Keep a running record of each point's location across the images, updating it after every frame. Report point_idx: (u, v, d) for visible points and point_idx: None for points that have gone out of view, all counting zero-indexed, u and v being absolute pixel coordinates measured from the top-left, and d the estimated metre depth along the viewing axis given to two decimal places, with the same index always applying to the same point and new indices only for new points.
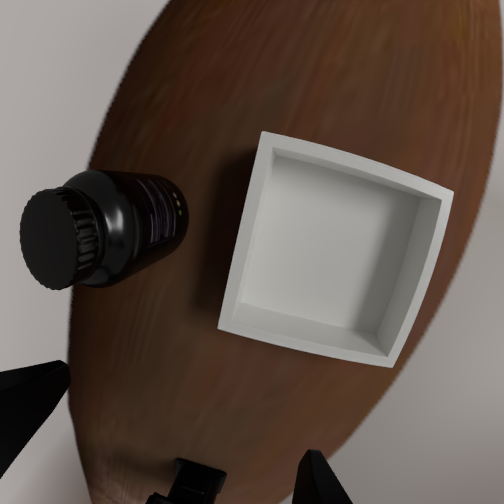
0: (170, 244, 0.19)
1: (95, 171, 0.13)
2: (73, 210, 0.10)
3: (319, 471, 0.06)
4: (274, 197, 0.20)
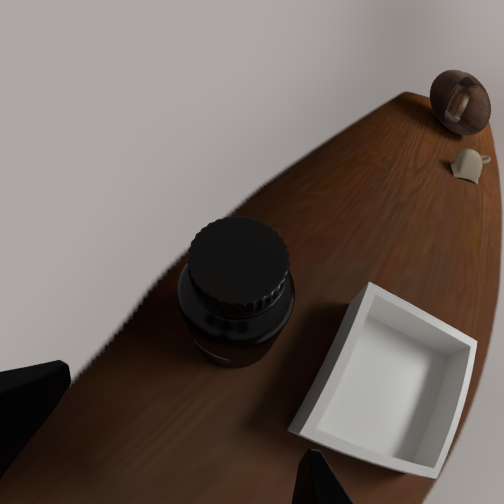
0: (267, 350, 0.19)
1: None
2: None
3: (319, 471, 0.06)
4: None
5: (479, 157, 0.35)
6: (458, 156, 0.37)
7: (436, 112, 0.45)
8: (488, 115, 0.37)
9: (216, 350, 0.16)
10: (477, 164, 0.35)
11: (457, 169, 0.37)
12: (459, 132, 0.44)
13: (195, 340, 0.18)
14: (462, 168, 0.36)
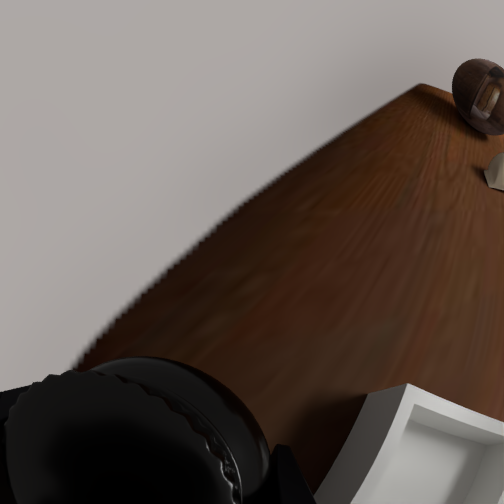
0: None
1: (208, 377, 0.07)
2: (234, 481, 0.03)
3: (284, 466, 0.06)
4: None
5: None
6: (494, 161, 0.26)
7: (461, 107, 0.35)
8: None
9: None
10: None
11: (492, 177, 0.27)
12: (487, 131, 0.33)
13: None
14: (498, 177, 0.26)
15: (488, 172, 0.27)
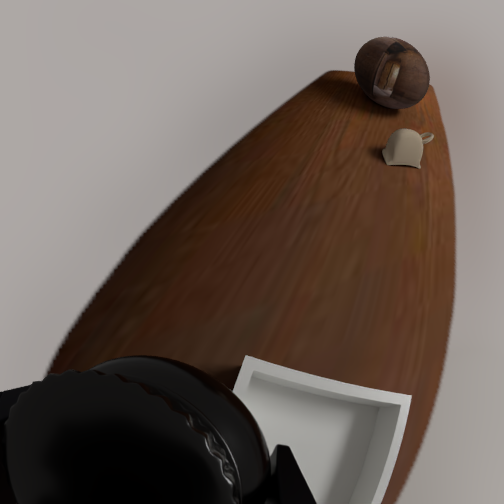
0: None
1: (207, 376, 0.07)
2: (233, 480, 0.03)
3: (285, 467, 0.06)
4: None
5: (417, 137, 0.33)
6: (390, 139, 0.35)
7: (364, 89, 0.43)
8: (426, 82, 0.36)
9: None
10: (416, 145, 0.34)
11: (389, 155, 0.36)
12: (394, 107, 0.43)
13: None
14: (396, 153, 0.35)
15: (385, 151, 0.36)
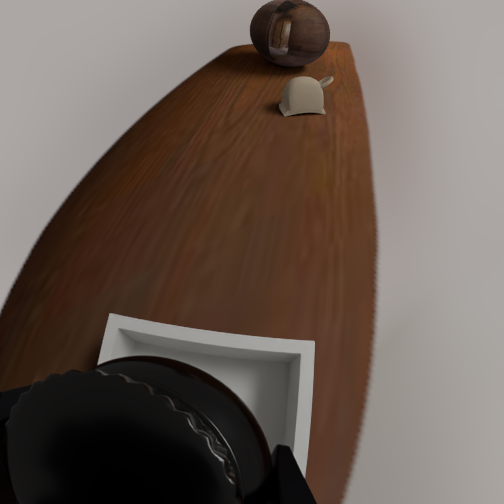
0: None
1: (209, 376, 0.07)
2: (236, 480, 0.03)
3: (284, 466, 0.06)
4: None
5: (313, 82, 0.33)
6: (283, 91, 0.35)
7: (262, 53, 0.43)
8: (325, 32, 0.37)
9: None
10: (313, 91, 0.34)
11: (286, 106, 0.35)
12: (296, 64, 0.43)
13: None
14: (291, 102, 0.34)
15: (281, 103, 0.36)
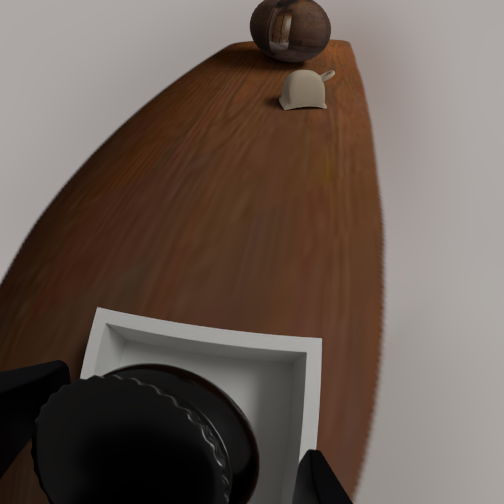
0: None
1: (207, 381, 0.08)
2: (223, 463, 0.05)
3: (319, 471, 0.06)
4: None
5: (314, 75, 0.32)
6: (284, 84, 0.33)
7: (262, 49, 0.42)
8: (326, 27, 0.36)
9: None
10: (314, 84, 0.33)
11: (286, 100, 0.34)
12: (296, 59, 0.42)
13: None
14: (292, 96, 0.33)
15: (281, 96, 0.34)
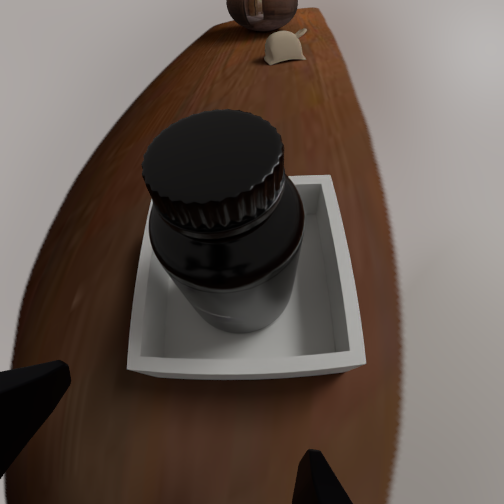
0: (284, 300, 0.15)
1: None
2: None
3: (319, 471, 0.06)
4: None
5: (289, 34, 0.35)
6: (265, 45, 0.36)
7: (241, 23, 0.44)
8: None
9: (210, 301, 0.12)
10: (290, 41, 0.36)
11: (270, 57, 0.37)
12: (273, 27, 0.44)
13: (186, 297, 0.14)
14: (274, 53, 0.36)
15: None
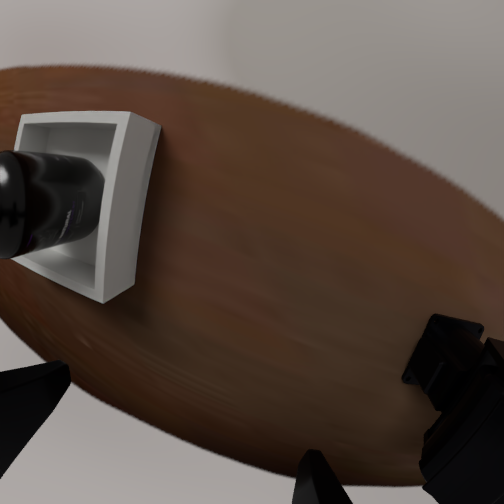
0: (75, 168, 0.16)
1: None
2: None
3: (319, 471, 0.06)
4: None
5: None
6: None
7: None
8: None
9: (45, 224, 0.13)
10: None
11: None
12: None
13: (53, 241, 0.15)
14: None
15: None
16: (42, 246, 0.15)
